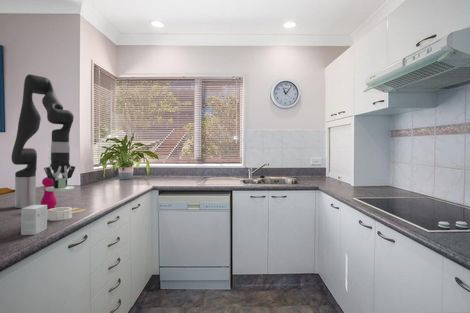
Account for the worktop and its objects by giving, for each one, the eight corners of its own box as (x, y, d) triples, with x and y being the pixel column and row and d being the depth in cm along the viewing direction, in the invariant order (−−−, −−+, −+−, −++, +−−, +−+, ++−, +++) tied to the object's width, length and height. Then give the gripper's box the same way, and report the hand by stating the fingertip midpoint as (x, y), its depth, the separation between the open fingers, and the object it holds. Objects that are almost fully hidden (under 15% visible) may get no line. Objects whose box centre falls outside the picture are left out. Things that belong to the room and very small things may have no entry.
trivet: (51, 213, 143) (51, 211, 143) (73, 209, 154) (73, 207, 154) (65, 216, 138) (65, 214, 138) (87, 211, 148) (87, 210, 148)
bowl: (42, 220, 129) (42, 210, 129) (64, 216, 138) (64, 206, 138) (55, 223, 125) (55, 212, 125) (76, 219, 134) (76, 208, 134)
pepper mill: (48, 213, 144) (48, 175, 143) (37, 212, 145) (37, 174, 144) (59, 210, 151) (60, 173, 150) (48, 209, 152) (49, 173, 151)
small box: (33, 229, 116) (33, 204, 116) (47, 229, 117) (47, 204, 117) (20, 235, 108) (20, 208, 108) (35, 235, 109) (35, 208, 109)
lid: (40, 189, 129) (40, 178, 128) (65, 187, 139) (65, 176, 139) (54, 192, 123) (54, 180, 123) (79, 188, 134) (79, 178, 134)
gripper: (70, 151, 139) (69, 185, 139) (39, 151, 126) (39, 188, 127) (79, 151, 135) (79, 186, 136) (49, 151, 123) (49, 190, 123)
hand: (60, 187), depth 131 cm, fingers closed on lid, 3 cm apart
